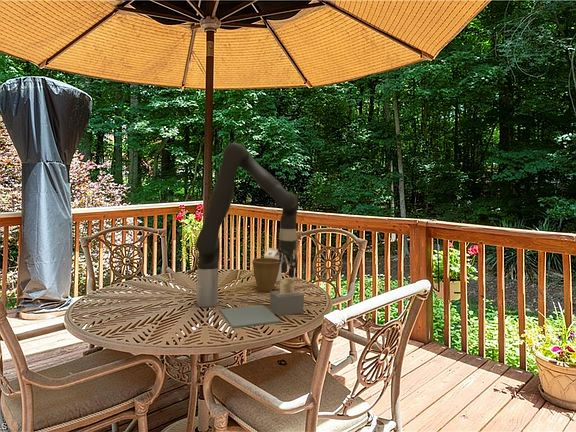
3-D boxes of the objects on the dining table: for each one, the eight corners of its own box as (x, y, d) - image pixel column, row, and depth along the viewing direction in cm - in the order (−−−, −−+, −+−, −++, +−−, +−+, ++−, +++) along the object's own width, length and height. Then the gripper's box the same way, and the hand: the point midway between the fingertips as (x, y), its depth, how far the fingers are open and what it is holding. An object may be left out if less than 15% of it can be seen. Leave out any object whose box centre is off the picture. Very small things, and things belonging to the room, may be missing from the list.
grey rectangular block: (277, 315, 174) (278, 296, 173) (269, 308, 183) (270, 290, 182) (303, 312, 178) (303, 293, 178) (294, 306, 188) (294, 287, 187)
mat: (232, 328, 158) (232, 326, 158) (219, 311, 178) (219, 309, 178) (280, 322, 166) (280, 320, 166) (262, 306, 186) (262, 304, 186)
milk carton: (271, 278, 238) (272, 246, 237) (280, 280, 234) (281, 248, 232) (263, 280, 233) (264, 248, 231) (272, 283, 228) (273, 249, 227)
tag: (280, 307, 179) (281, 280, 178) (279, 306, 180) (280, 280, 179) (293, 306, 181) (294, 279, 180) (291, 305, 182) (292, 279, 181)
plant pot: (279, 294, 206) (280, 263, 205) (250, 293, 207) (250, 262, 205) (280, 286, 221) (281, 257, 220) (253, 285, 222) (253, 257, 220)
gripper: (274, 236, 183) (273, 272, 184) (286, 241, 170) (285, 279, 171) (289, 236, 186) (288, 271, 187) (302, 240, 173) (301, 278, 174)
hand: (287, 275), depth 179 cm, fingers open, 8 cm apart
